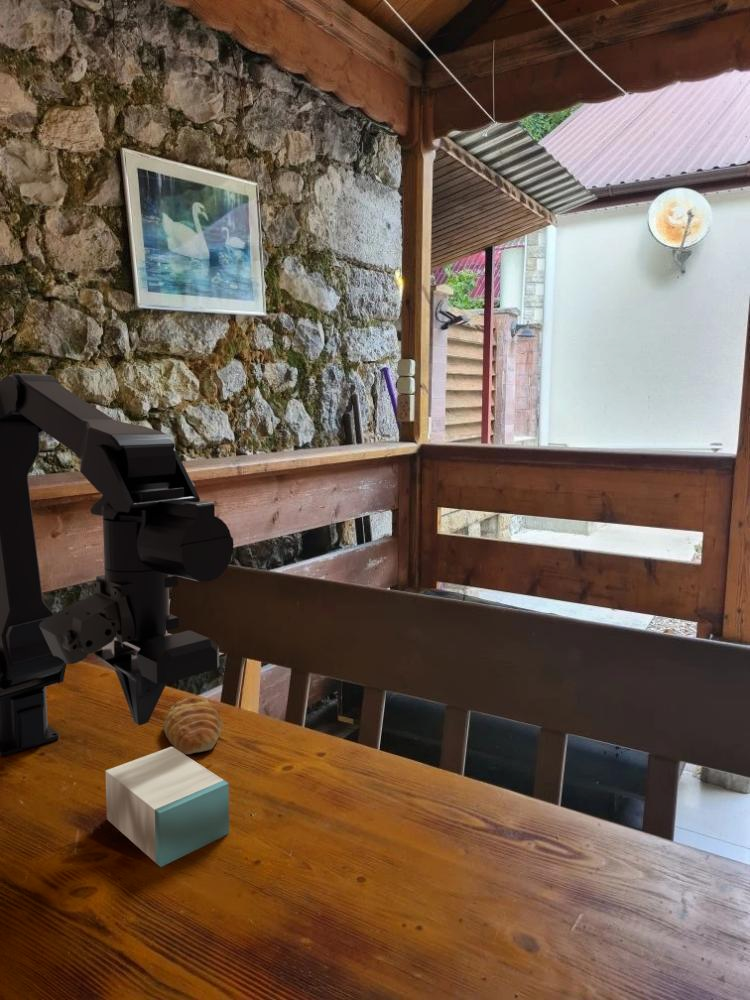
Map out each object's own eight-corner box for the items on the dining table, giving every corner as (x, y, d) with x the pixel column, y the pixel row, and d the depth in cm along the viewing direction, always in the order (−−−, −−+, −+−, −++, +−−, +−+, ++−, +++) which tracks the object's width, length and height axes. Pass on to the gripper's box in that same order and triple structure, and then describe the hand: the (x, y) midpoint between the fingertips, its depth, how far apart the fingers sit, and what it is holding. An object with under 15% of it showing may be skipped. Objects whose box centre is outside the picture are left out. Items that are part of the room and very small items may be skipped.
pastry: (229, 753, 82) (229, 721, 81) (168, 763, 80) (168, 731, 79) (216, 719, 91) (216, 690, 90) (161, 727, 88) (160, 698, 88)
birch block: (105, 770, 68) (159, 813, 61) (171, 746, 73) (228, 783, 66) (107, 819, 68) (160, 867, 61) (172, 792, 73) (229, 834, 66)
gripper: (9, 562, 68) (17, 718, 70) (99, 600, 55) (106, 790, 57) (120, 547, 76) (124, 687, 78) (221, 577, 63) (223, 744, 65)
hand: (141, 723), depth 69 cm, fingers closed
